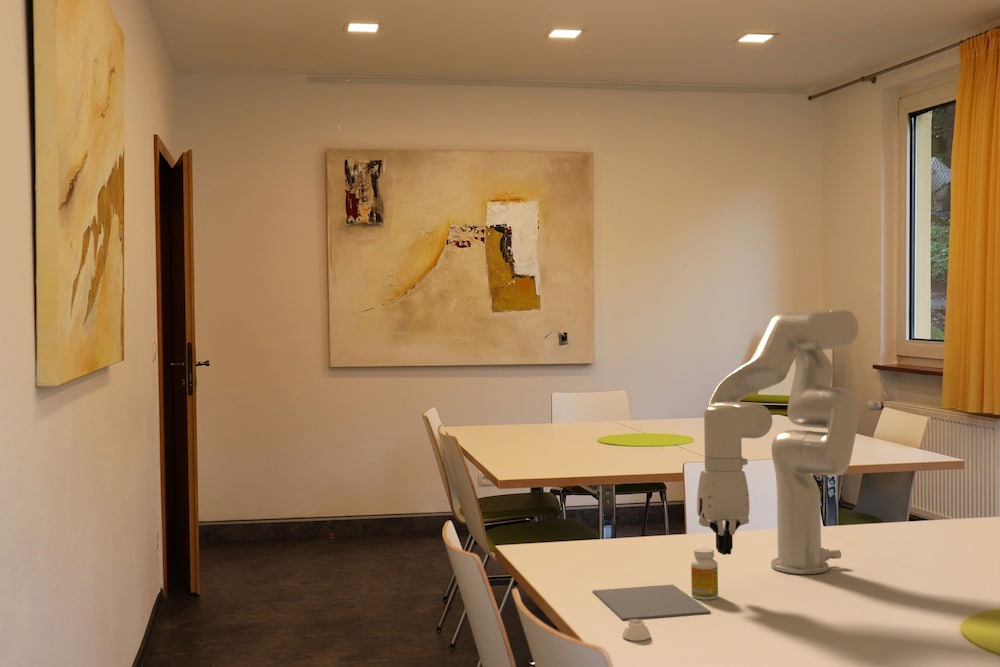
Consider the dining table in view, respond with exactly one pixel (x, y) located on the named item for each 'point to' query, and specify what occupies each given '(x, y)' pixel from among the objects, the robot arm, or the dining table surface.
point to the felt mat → (649, 602)
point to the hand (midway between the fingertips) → (724, 552)
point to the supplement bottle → (704, 574)
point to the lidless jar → (636, 630)
